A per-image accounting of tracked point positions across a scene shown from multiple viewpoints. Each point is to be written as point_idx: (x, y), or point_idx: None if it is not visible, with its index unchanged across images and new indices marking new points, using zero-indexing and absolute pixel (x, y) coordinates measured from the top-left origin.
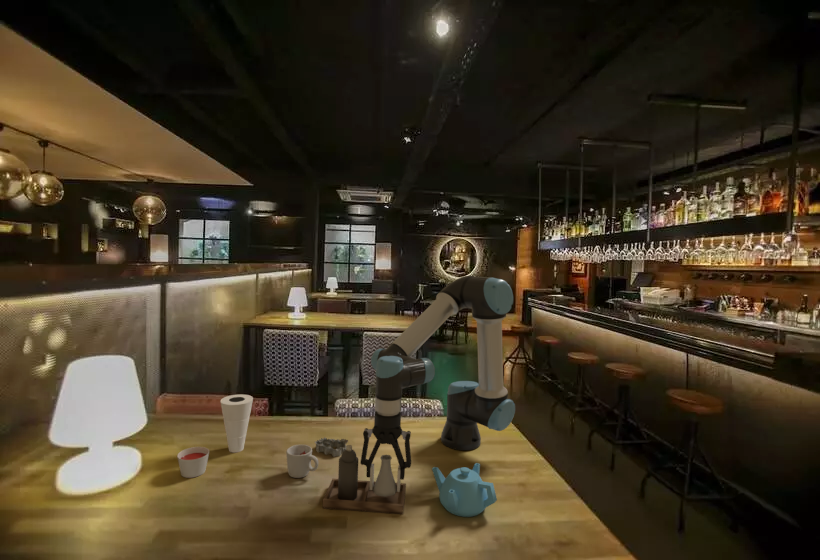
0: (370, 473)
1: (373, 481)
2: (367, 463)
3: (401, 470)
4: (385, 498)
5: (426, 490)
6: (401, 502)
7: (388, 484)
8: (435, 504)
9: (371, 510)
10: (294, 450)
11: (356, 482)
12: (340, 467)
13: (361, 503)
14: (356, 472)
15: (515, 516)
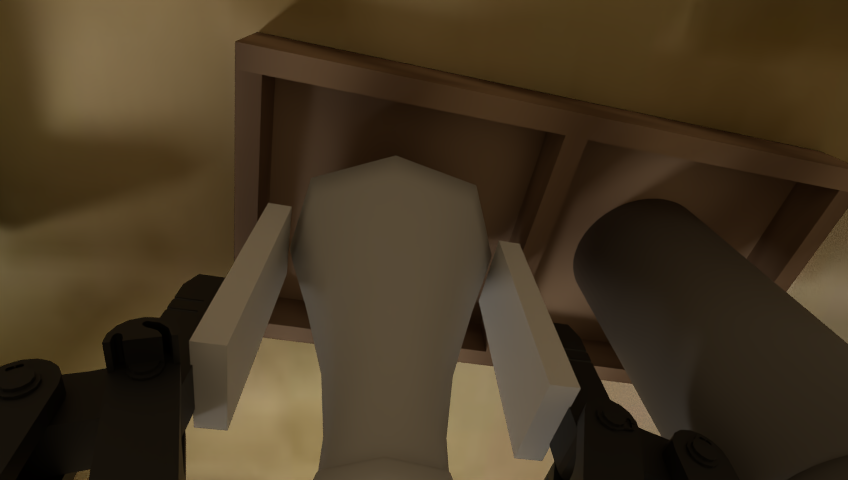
0: (557, 340)
1: (486, 316)
2: (637, 443)
3: (162, 323)
4: None
5: (109, 301)
6: (255, 99)
7: (363, 232)
8: (9, 145)
9: (503, 85)
10: None
11: (639, 298)
12: None
13: (594, 116)
14: (693, 361)
15: None
